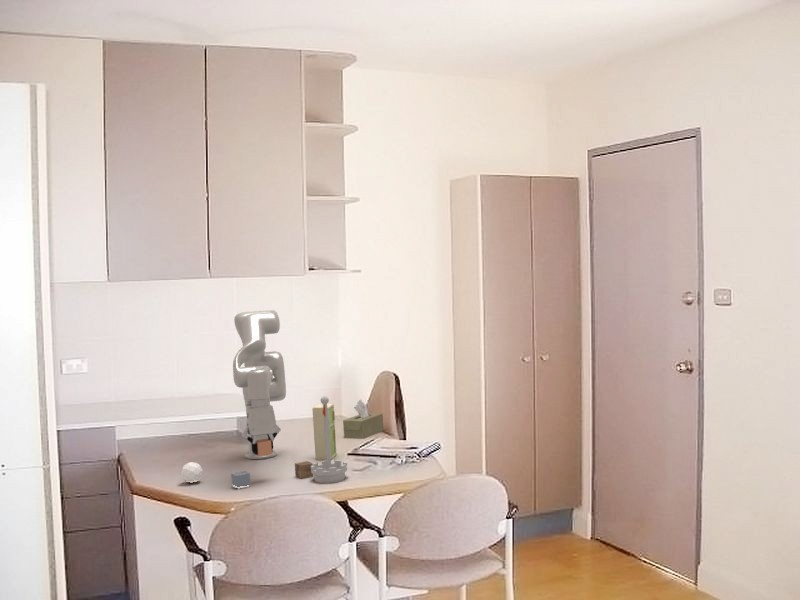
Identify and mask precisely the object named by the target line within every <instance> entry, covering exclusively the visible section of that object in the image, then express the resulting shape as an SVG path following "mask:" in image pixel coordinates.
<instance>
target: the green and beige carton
mask: <svg viewBox="0 0 800 600" xmlns="http://www.w3.org/2000/svg"><path fill="white" fill-rule="evenodd" d="M334 409H335V405H334V403H327V411H328V426H329V441H330V456H331V461H332V460H333V459H334V458H335V457H336V456H337V441H336V440H337V439H336V424H335V423H336V421H335V420H336V418H335V417H336V415H335V410H334ZM312 423H313V438H314V439H313V440H314V441H313V442H314V450H315V451H314V452H315V453H314V454H315V460H316V461H327V460H326V445H325V430H324V415H323V404H322V403H318V404H316V405H314V406H313V407H312Z"/></svg>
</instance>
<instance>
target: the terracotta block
mask: <svg viewBox="0 0 800 600" xmlns="http://www.w3.org/2000/svg"><path fill="white" fill-rule="evenodd" d="M256 444H257V449H258V454H257V456H265V455H270V454H272V446H271V440H269V439H260V440H256ZM255 455H256V454H255Z"/></svg>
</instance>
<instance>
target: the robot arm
mask: <svg viewBox="0 0 800 600" xmlns="http://www.w3.org/2000/svg"><path fill="white" fill-rule="evenodd" d="M233 321H234V326H235V330H236V332H237V334H238V336H239V338H240V340H241V343H242V347H241V348H240V349H239V350H238V351H237V352H236V354H235V356H234V358H233V361H232V362H233V363H232V373H233V374H232V375H233V377H232V378H233V382H234V385H235V386H236V387H238V388H240V389H241V388H242V396H243V400H244V405H245V413H246V425H245V426H246V427H245V429H244V430H243V432H242V433H241V437H242V438H244V439H245V440H247V441H248V451H249V452H247V453H245V458H246V459H247V460H265V459H271V458H274V457H276V456H277V454H278V453H277V451H276V450H273V449H274V440H275V438H276V437H277V435H278V434H279V433H280V432H281V429H282V428H280V426H279V425H278V424H277V422H276V421H277V420H276V414H275V410H274V407H273V405H271V403H272V402H279V401H282V400H284V399H285V398H286V395H287V387H286V385H287V384H286V383H287V382H286V374H285V373H286V371H285V361H284V358H283V357H284V356H283V355H282V353H281V352H279V351H276V350H275V351H274V350H273V351H265V350H266V347H267V343H266V335H274V334H278V333H279V331H280V329H281V322H280V318H279V315H278V313H277V311H276V310H273V309H271V310H257V311H256V310H255V311H254V310H253V311H245V312H239V313H237V314H236V315H235V316H234V319H233ZM242 365H243V367H241V366H242ZM260 439H269V440H271V446H272V454H270V455H265V456H257V454H258V449H257V444H256V440H260ZM255 454H256V455H255Z"/></svg>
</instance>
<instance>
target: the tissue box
mask: <svg viewBox="0 0 800 600" xmlns="http://www.w3.org/2000/svg"><path fill="white" fill-rule="evenodd" d="M353 408H354V410H355V411H356V412H357V413H358V414H357V415H354V416H351V417H349V418H346V419H343V420H342V421H343V422H342V423H343V427H342V428H343V438H344V439H356V440H359V439H360V440H364V439H367V438H369V437H371V436H374V435H377V434H379V433H381V432H383V431H384V430H385V429H384V417H383V413H379V412H369V411H368V407H367V404H365V402H364V401H363V400H362V399H359V400H358V401H357V403H356V405H355V406H354V407H353Z"/></svg>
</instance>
